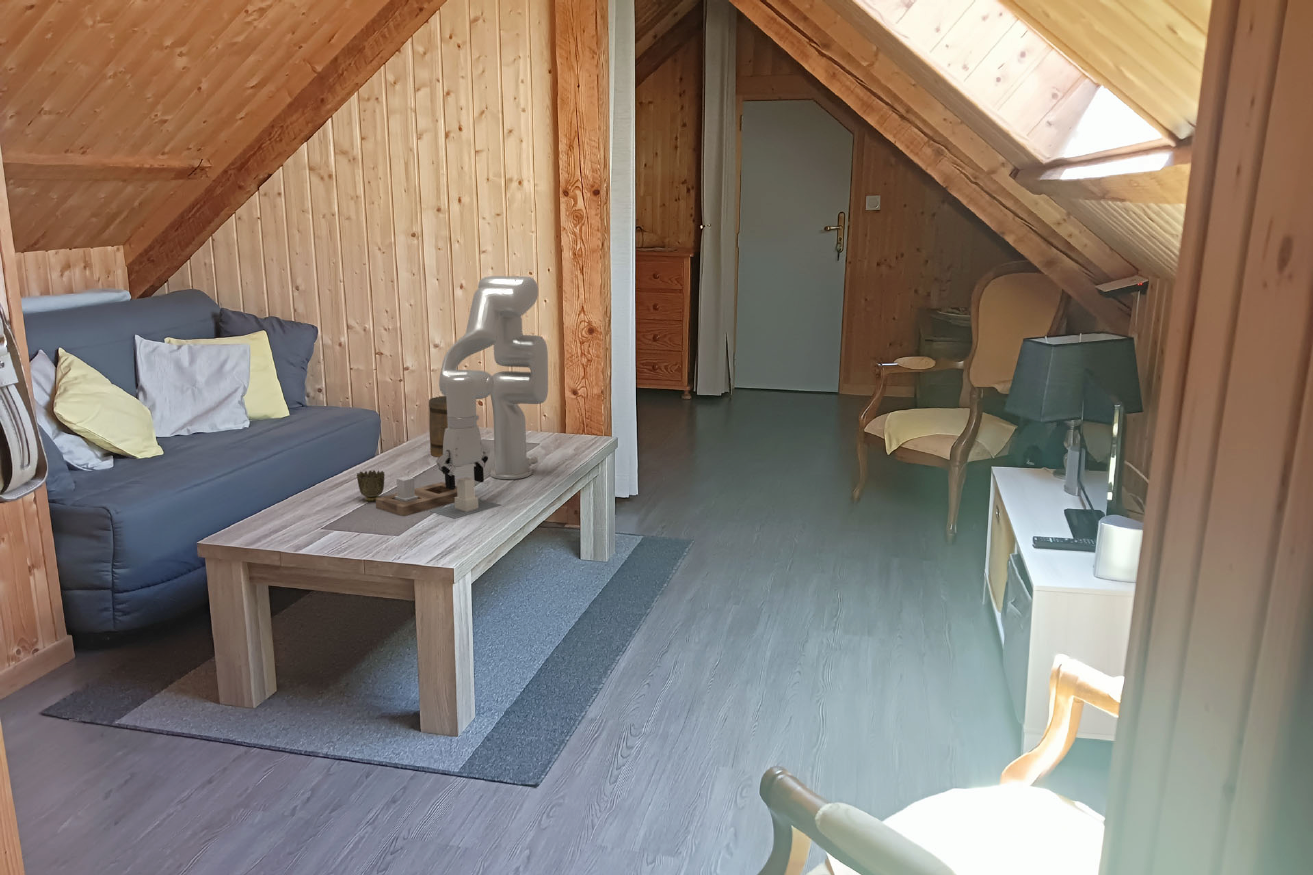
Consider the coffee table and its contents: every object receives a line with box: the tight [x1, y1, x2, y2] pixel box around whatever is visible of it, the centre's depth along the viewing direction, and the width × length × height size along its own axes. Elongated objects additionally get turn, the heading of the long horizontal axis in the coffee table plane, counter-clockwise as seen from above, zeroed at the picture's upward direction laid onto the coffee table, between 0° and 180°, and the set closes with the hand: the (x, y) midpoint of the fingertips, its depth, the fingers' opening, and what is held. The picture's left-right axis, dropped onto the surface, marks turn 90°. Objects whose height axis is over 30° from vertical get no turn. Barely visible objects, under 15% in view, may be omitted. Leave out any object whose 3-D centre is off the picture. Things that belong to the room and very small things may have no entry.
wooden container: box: [428, 395, 448, 458], centre depth 327 cm, size 15×15×22 cm
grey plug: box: [395, 475, 418, 503], centre depth 266 cm, size 4×5×8 cm
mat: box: [430, 498, 501, 520], centre depth 266 cm, size 16×10×1 cm, turn 140°
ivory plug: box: [454, 476, 479, 511], centre depth 264 cm, size 4×5×8 cm
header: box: [375, 481, 458, 517], centre depth 270 cm, size 22×12×3 cm, turn 140°
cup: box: [356, 469, 386, 502], centre depth 273 cm, size 8×7×8 cm
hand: (465, 485), depth 264 cm, fingers open, 9 cm apart
